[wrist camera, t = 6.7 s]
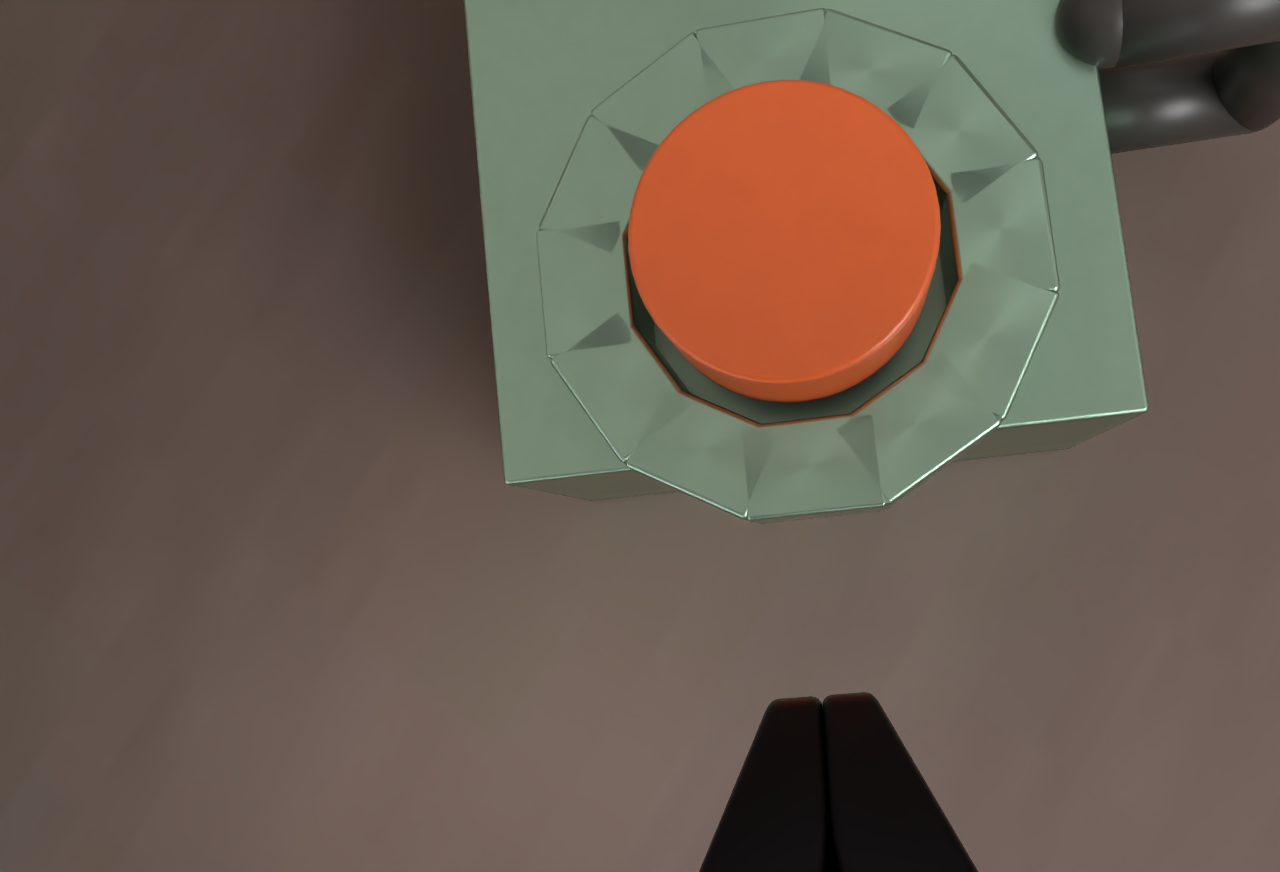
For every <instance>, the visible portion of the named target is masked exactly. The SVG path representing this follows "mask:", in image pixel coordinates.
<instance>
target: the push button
mask: <svg viewBox="0 0 1280 872" xmlns="http://www.w3.org/2000/svg"><path fill="white" fill-rule="evenodd" d="M940 232H941V222H940V207H939V202H938V197H937V192H936V187H935V184H934V181H933V179H932V176H931V173H930V170H929V168H928V166H927V164H926V162H925V160H924V158H923V156H922V154H921V152H920V150H919V149H918V148H917V146H916V145H915V143H914V142H913V140H912V139H911V138H910V136H909V135H908V134H907V133H906V132H905V130H904V129H903V128H902V127H901V126H900V125H899V124H898V123H897V122H896V121H895V120H894V119H893V118H892V117H890V116H889V115H888V114H887V113H885V112H884V111H883V110H882V109H881V108H879V107H878V106H876V105H874V104H873V103H871V102H870V101H868V100H866V99H865V98H863V97H861V96H859V95H857V94H854V93H852V92H850V91H847V90H845V89H842V88H839V87H836V86H832V85H829V84H825V83H820V82H813V81H806V80H775V81H766V82H760V83H756V84H751V85H747V86H743V87H740V88H738V89H735V90H732V91H729V92H727V93H724V94H722V95H720V96H718V97H716V98H714V99H713V100H711V101H709V102H707V103H705V104H704V105H702V106H701V107H699V108H698V109H696V110H695V111H693V112H692V113H690V114H689V115H688V116H687V117H686V118H685V119H683V120H682V121H681V122H680V123H679V124H678V125H677V126H675V127H674V129H673V130H672V131H671V132H670V133H669V134H668V135H667V136H666V138H665V139H664V140H663V141H662V142H661V143H660V145H659V146H658V148H657V149H656V151H655V152H654V154H653V155H652V156H651V158H650V160H649V162H648V164H647V165H646V167H645V169H644V171H643V173H642V175H641V177H640V180H639V183H638V185H637V188H636V191H635V194H634V197H633V202H632V206H631V210H630V217H629V227H628V250H629V258H630V264H631V270H632V274H633V277H634V280H635V283H636V287H637V290H638V292H639V294H640V296H641V299H642V301H643V303H644V305H645V307H646V309H647V310H648V312H649V314H650V315H651V317H652V318H653V320H654V321H655V323H656V324H657V326H658V327H659V328H660V329H661V330H662V331H663V333H664V334H665V335H666V336H667V337H668V339H669V340H670V341H671V342H672V343H673V344H674V346H675V347H676V348H677V349H678V350H679V351H680V352H681V354H682V355H683V356H684V357H685V358H686V359H687V361H688V362H689V363H690V364H692V365H693V366H694V367H695V368H696V369H697V370H698V371H699V372H700V373H702V374H703V375H704V376H706V377H707V378H709V379H710V380H712V381H713V382H715V383H716V384H718V385H720V386H722V387H724V388H726V389H728V390H730V391H732V392H735V393H738V394H740V395H743V396H746V397H749V398H754V399H758V400H763V401H769V402H783V403H790V402H805V401H811V400H816V399H821V398H825V397H828V396H831V395H834V394H837V393H840V392H843V391H845V390H847V389H849V388H851V387H853V386H855V385H857V384H859V383H861V382H862V381H864V380H865V379H867V378H868V377H870V376H871V375H873V374H874V373H875V372H877V371H878V370H879V369H880V368H881V367H883V366H884V365H885V364H886V363H887V362H888V361H889V360H890V359H891V358H892V357H893V356H894V355H895V354H896V353H897V352H898V350H899V349H900V348H901V347H902V345H903V344H904V342H905V341H906V340H907V338H908V337H909V335H910V334H911V332H912V330H913V328H914V326H915V325H916V323H917V321H918V319H919V317H920V314H921V311H922V309H923V306H924V303H925V300H926V297H927V294H928V290H929V287H930V283H931V280H932V277H933V273H934V270H935V266H936V261H937V256H938V252H939V245H940Z"/></svg>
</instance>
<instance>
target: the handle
mask: <svg viewBox="0 0 1280 872" xmlns="http://www.w3.org/2000/svg"><path fill="white" fill-rule="evenodd" d="M1055 22H1056V30H1057V34H1058V37H1059V39H1060V41H1061V43H1062V45H1063V46H1064V47H1065V48H1066V50H1067V51H1068V52H1069V53H1070V54H1071V55H1073V56H1074V57H1075V58H1076V59H1078V60H1080V61H1082V62H1084V63H1087V64H1090V65H1094V66H1097V67H1098V68H1101V69H1103V68H1110V69H1104V70H1099V76H1100V83H1101V90H1102V97H1103V103H1104V110H1105V117H1106V124H1107V130H1108V137H1109V144H1110V151H1111V154H1112V153H1119V152H1126V151H1133V150H1139V149H1146V148H1153V147H1160V146H1166V145H1173V144H1180V143H1187V142H1193V141H1200V140H1207V139H1214V138H1220V137H1227V136H1234V135H1241V134H1247V133H1252V132H1256V131H1259V130H1262V129H1264V128H1266V127H1268V126H1269V125H1271V124H1272V123H1274V122H1275V121H1277V120H1278V119H1279V118H1280V0H1060V1H1059V4H1058V6H1057V12H1056V18H1055ZM1221 50H1223V51H1221ZM1215 51H1217V52H1215ZM1209 52H1211V53H1209ZM1202 53H1204V54H1202ZM1196 54H1198V55H1196ZM1190 55H1192V56H1190ZM1184 56H1186V57H1184ZM1177 57H1179V58H1177ZM1171 58H1173V59H1171ZM1165 59H1167V60H1165ZM1159 60H1160V61H1159ZM1152 61H1154V62H1152ZM1146 62H1148V63H1146ZM1140 63H1142V64H1140ZM1133 64H1135V65H1133ZM1127 65H1129V66H1127ZM1121 66H1123V67H1121ZM1115 67H1116V68H1115Z"/></svg>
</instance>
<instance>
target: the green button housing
mask: <svg viewBox="0 0 1280 872" xmlns="http://www.w3.org/2000/svg"><path fill="white" fill-rule="evenodd" d="M1059 1H1060V0H464V12H465V24H466V36H467V47H468V59H469V71H470V83H471V95H472V106H473V118H474V130H475V142H476V154H477V165H478V177H479V189H480V201H481V212H482V224H483V236H484V248H485V260H486V271H487V283H488V295H489V307H490V319H491V330H492V342H493V354H494V366H495V377H496V389H497V401H498V413H499V425H500V436H501V448H502V460H503V472H504V481H505V483H506V484H508V485H513V486H518V487H523V488H529V489H534V490H539V491H544V492H549V493H554V494H560V495H565V496H570V497H575V498H580V499H585V500H590V501H593V500H602V499H611V498H620V497H629V496H638V495H648V494H657V493H666V492H675V491H681V492H683V493H685V494H687V495H689V496H692V497H694V498H696V499H698V500H701V501H703V502H705V503H707V504H710V505H712V506H714V507H716V508H719V509H721V510H723V511H725V512H728V513H730V514H732V515H734V516H736V517H739V518H741V519H744V520H747V521H751V522H757V523H760V524H764V523H774V522H784V521H793V520H803V519H813V518H822V517H832V516H842V515H851V514H861V513H871V512H880V511H882V510H883V509H887V508H889V507H890V506H892V505H893V504H894V503H896V502H897V501H899V500H900V499H901V498H903V497H904V496H906V495H907V494H908V493H910V492H911V491H913V490H914V489H915V488H917V487H918V486H919V485H921V484H922V483H924V482H925V481H926V480H928V479H929V478H931V477H932V476H933V475H935V474H936V473H937V472H939V471H940V470H942V469H943V468H944V467H946V466H947V465H949V464H950V463H951V462H953V461H959V460H968V459H977V458H986V457H995V456H1004V455H1014V454H1023V453H1032V452H1041V451H1050V450H1059V449H1068V448H1071V447H1073V446H1075V445H1078V444H1080V443H1082V442H1084V441H1086V440H1088V439H1090V438H1092V437H1094V436H1097V435H1099V434H1101V433H1103V432H1105V431H1107V430H1109V429H1111V428H1113V427H1116V426H1118V425H1120V424H1122V423H1124V422H1126V421H1128V420H1130V419H1132V418H1135V417H1137V416H1139V415H1141V414H1143V413H1145V412H1147V411H1148V400H1147V393H1146V387H1145V380H1144V373H1143V366H1142V360H1141V353H1140V346H1139V339H1138V333H1137V326H1136V319H1135V312H1134V306H1133V299H1132V292H1131V286H1130V279H1129V272H1128V265H1127V259H1126V252H1125V245H1124V238H1123V232H1122V225H1121V218H1120V211H1119V205H1118V198H1117V191H1116V184H1115V178H1114V171H1113V164H1112V157H1111V151H1110V144H1109V137H1108V130H1107V124H1106V117H1105V110H1104V103H1103V97H1102V90H1101V83H1100V76H1099V70H1098V67H1097V66H1094V65H1090V64H1087V63H1084V62H1082V61H1080V60H1078V59H1076V58H1075V57H1074V56H1073V55H1071V54H1070V53H1069V52H1068V51H1067V50H1066V48H1065V47H1064V46H1063V45H1062V43H1061V41H1060V39H1059V37H1058V34H1057V30H1056V22H1055V18H1056V12H1057V6H1058V4H1059ZM775 80H806V81H813V82H820V83H825V84H829V85H832V86H836V87H839V88H842V89H845V90H847V91H850V92H852V93H854V94H857V95H859V96H861V97H863V98H865V99H866V100H868V101H870V102H871V103H873V104H874V105H876V106H878V107H879V108H881V109H882V110H883V111H884V112H885V113H887V114H888V115H889V116H890V117H892V118H893V119H894V120H895V121H896V122H897V123H898V124H899V125H900V126H901V127H902V128H903V129H904V130H905V132H906V133H907V134H908V135H909V136H910V138H911V139H912V140H913V142H914V143H915V145H916V146H917V148H918V149H919V150H920V152H921V154H922V156H923V158H924V160H925V162H926V164H927V166H928V168H929V170H930V173H931V176H932V179H933V181H934V184H935V187H936V192H937V197H938V202H939V207H940V222H941V232H940V245H939V252H938V256H937V261H936V266H935V270H934V273H933V277H932V280H931V283H930V287H929V290H928V294H927V297H926V300H925V303H924V306H923V309H922V311H921V314H920V317H919V319H918V321H917V323H916V325H915V326H914V328H913V330H912V332H911V334H910V335H909V337H908V338H907V340H906V341H905V342H904V344H903V345H902V347H901V348H900V349H899V350H898V352H897V353H896V354H895V355H894V356H893V357H892V358H891V359H890V360H889V361H888V362H887V363H886V364H885V365H884V366H883V367H881V368H880V369H879V370H878V371H877V372H875V373H874V374H873V375H871V376H870V377H868V378H867V379H865V380H864V381H862V382H861V383H859V384H857V385H855V386H853V387H851V388H849V389H847V390H845V391H843V392H840V393H837V394H834V395H831V396H828V397H825V398H821V399H816V400H811V401H805V402H790V403H783V402H769V401H763V400H758V399H754V398H749V397H746V396H743V395H740V394H738V393H735V392H732V391H730V390H728V389H726V388H724V387H722V386H720V385H718V384H716V383H715V382H713V381H712V380H710V379H709V378H707V377H706V376H704V375H703V374H702V373H700V372H699V371H698V370H697V369H696V368H695V367H694V366H693V365H692V364H690V363H689V362H688V361H687V359H686V358H685V357H684V356H683V355H682V354H681V352H680V351H679V350H678V349H677V348H676V347H675V346H674V344H673V343H672V342H671V341H670V340H669V339H668V337H667V336H666V335H665V334H664V333H663V331H662V330H661V329H660V328H659V327H658V326H657V324H656V323H655V321H654V320H653V318H652V317H651V315H650V314H649V312H648V310H647V309H646V307H645V305H644V303H643V301H642V299H641V296H640V294H639V292H638V290H637V287H636V283H635V280H634V277H633V274H632V270H631V264H630V258H629V250H628V227H629V217H630V210H631V206H632V202H633V197H634V194H635V191H636V188H637V185H638V183H639V180H640V177H641V175H642V173H643V171H644V169H645V167H646V165H647V164H648V162H649V160H650V158H651V156H652V155H653V154H654V152H655V151H656V149H657V148H658V146H659V145H660V143H661V142H662V141H663V140H664V139H665V138H666V136H667V135H668V134H669V133H670V132H671V131H672V130H673V129H674V127H675V126H677V125H678V124H679V123H680V122H681V121H682V120H683V119H685V118H686V117H687V116H688V115H689V114H690V113H692V112H693V111H695V110H696V109H698V108H699V107H701V106H702V105H704V104H705V103H707V102H709V101H711V100H713V99H714V98H716V97H718V96H720V95H722V94H724V93H727V92H729V91H732V90H735V89H738V88H740V87H743V86H747V85H751V84H756V83H760V82H766V81H775Z"/></svg>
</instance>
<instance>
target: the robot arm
mask: <svg viewBox="0 0 1280 872" xmlns="http://www.w3.org/2000/svg"><path fill="white" fill-rule="evenodd" d="M699 872H978V871H977V869H976V867H975V865H974V864H973V862H972V860H971V859H970V857H969V855H968V853H967V852H966V850H965V848H964V847H963V845H962V843H961V842H960V840H959V838H958V836H957V835H956V833H955V831H954V830H953V828H952V826H951V824H950V823H949V821H948V819H947V818H946V816H945V814H944V813H943V811H942V809H941V807H940V806H939V804H938V802H937V801H936V799H935V797H934V795H933V794H932V792H931V790H930V789H929V787H928V785H927V784H926V782H925V780H924V778H923V777H922V775H921V773H920V772H919V770H918V768H917V766H916V765H915V763H914V761H913V760H912V758H911V756H910V755H909V753H908V751H907V749H906V748H905V746H904V744H903V743H902V741H901V739H900V737H899V736H898V734H897V732H896V731H895V729H894V727H893V726H892V724H891V722H890V720H889V719H888V717H887V715H886V714H885V712H884V710H883V708H882V707H881V705H880V703H879V702H878V700H877V699H876V698H875V697H874V696H873V695H872V694H870V693H866V692H862V693H849V694H837V695H830V696H828V697H826V698H825V699H824V701H823V707H822V703H821V701H820V700H819V699H818V698H816V697H812V696H811V697H798V698H785V699H777V700H774V701H773V702H771V703H770V705H769V706H768V708H767V709H766V711H765V714H764V716H763V719H762V721H761V723H760V726H759V728H758V731H757V733H756V735H755V738H754V740H753V743H752V745H751V748H750V750H749V752H748V755H747V757H746V760H745V762H744V764H743V767H742V769H741V772H740V774H739V777H738V779H737V781H736V784H735V786H734V789H733V791H732V793H731V796H730V798H729V801H728V803H727V806H726V808H725V810H724V813H723V815H722V818H721V820H720V822H719V825H718V827H717V830H716V832H715V835H714V837H713V839H712V842H711V844H710V847H709V849H708V851H707V854H706V856H705V859H704V861H703V864H702V866H701V868H700V871H699Z"/></svg>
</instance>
